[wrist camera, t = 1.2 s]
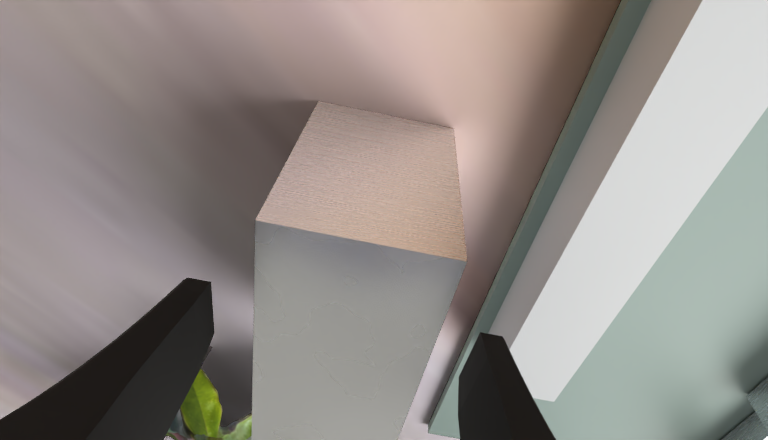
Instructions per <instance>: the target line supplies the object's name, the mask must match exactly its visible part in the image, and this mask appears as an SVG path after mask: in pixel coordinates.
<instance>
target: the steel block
mask: <svg viewBox="0 0 768 440" xmlns="http://www.w3.org/2000/svg"><path fill="white" fill-rule="evenodd" d="M466 263H467V255H466V245H465V235H464V225H463V215H462V205H461V195H460V185H459V175H458V165H457V155H456V145H455V136H454V129H453V128H448V127H443V126H439V125H434V124H429V123H424V122H419V121H414V120H410V119H405V118H400V117H395V116H390V115H385V114H380V113H376V112H371V111H366V110H361V109H356V108H351V107H347V106H342V105H337V104H332V103H327V102H322V101H318V103H317V105H316V107H315V109H314V111H313V112H312V114H311V116H310V118H309V120H308V122H307V124H306V126H305V128H304V129H303V131H302V133H301V135H300V137H299V139H298V141H297V143H296V144H295V146H294V148H293V150H292V152H291V154H290V156H289V158H288V160H287V161H286V163H285V165H284V167H283V169H282V171H281V173H280V175H279V176H278V178H277V180H276V182H275V184H274V186H273V188H272V190H271V192H270V193H269V195H268V197H267V199H266V201H265V203H264V205H263V207H262V208H261V210H260V212H259V214H258V216H257V218H256V220H255V262H254V320H253V379H252V437H251V440H397V439H398V437H399V434H400V432H401V429H402V427H403V424H404V422H405V419H406V417H407V414H408V411H409V409H410V406H411V404H412V401H413V399H414V396H415V394H416V391H417V388H418V386H419V383H420V381H421V378H422V376H423V373H424V371H425V368H426V366H427V363H428V360H429V358H430V355H431V353H432V350H433V348H434V345H435V343H436V340H437V337H438V335H439V332H440V330H441V327H442V325H443V322H444V320H445V317H446V314H447V312H448V309H449V307H450V304H451V302H452V299H453V297H454V294H455V292H456V289H457V286H458V284H459V281H460V279H461V276H462V274H463V271H464V269H465V266H466Z"/></svg>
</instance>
